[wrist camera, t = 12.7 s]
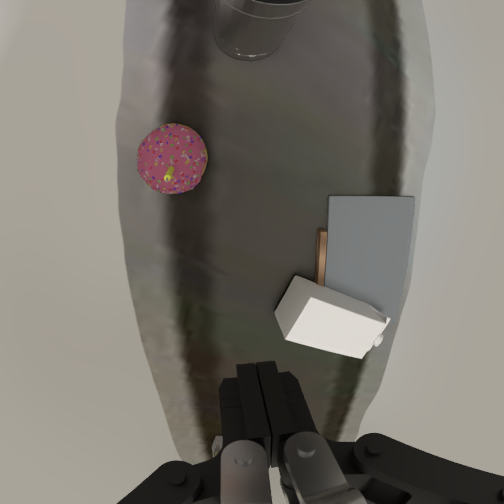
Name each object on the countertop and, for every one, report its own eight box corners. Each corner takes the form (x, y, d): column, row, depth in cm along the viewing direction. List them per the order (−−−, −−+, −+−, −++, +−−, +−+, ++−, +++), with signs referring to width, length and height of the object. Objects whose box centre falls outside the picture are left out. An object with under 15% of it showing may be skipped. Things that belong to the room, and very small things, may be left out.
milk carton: (294, 274, 43) (380, 308, 48) (272, 312, 45) (360, 339, 50) (309, 296, 37) (401, 329, 42) (283, 339, 38) (377, 362, 44)
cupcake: (215, 178, 38) (217, 189, 27) (156, 198, 38) (134, 217, 27) (197, 118, 35) (190, 103, 24) (137, 139, 35) (107, 135, 24)
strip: (317, 229, 42) (320, 232, 41) (323, 229, 42) (327, 231, 41) (312, 311, 47) (315, 316, 46) (317, 311, 47) (320, 315, 46)
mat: (327, 195, 41) (329, 196, 40) (413, 196, 43) (415, 197, 42) (318, 334, 49) (319, 336, 48) (393, 321, 51) (395, 322, 50)
